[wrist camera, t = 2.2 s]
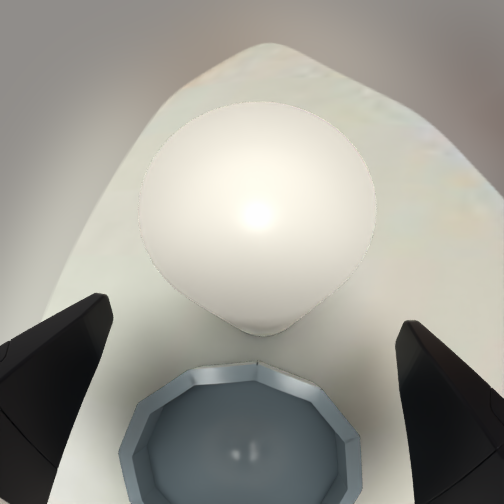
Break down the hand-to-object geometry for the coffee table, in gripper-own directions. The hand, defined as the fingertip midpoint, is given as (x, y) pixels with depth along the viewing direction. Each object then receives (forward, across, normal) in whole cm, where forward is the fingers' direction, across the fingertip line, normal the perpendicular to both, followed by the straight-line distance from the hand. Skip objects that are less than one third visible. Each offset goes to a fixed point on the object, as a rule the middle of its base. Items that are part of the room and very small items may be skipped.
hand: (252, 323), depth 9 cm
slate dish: (+1, 0, +12) cm, 13 cm away
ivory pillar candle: (+8, 0, +5) cm, 10 cm away
